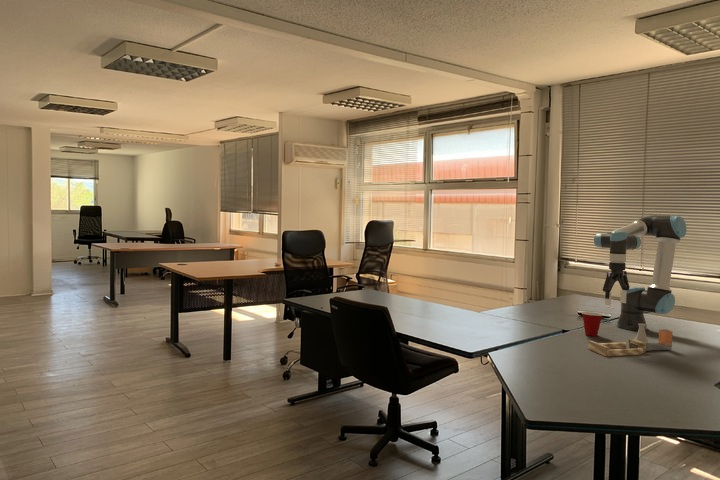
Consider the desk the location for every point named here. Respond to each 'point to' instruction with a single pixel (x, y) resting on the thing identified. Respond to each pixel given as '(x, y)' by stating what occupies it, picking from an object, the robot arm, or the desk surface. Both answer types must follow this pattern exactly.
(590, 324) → the plastic cup
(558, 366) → the desk surface
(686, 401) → the desk surface
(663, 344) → the grey orange angled block
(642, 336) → the flask
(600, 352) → the wooden tray
